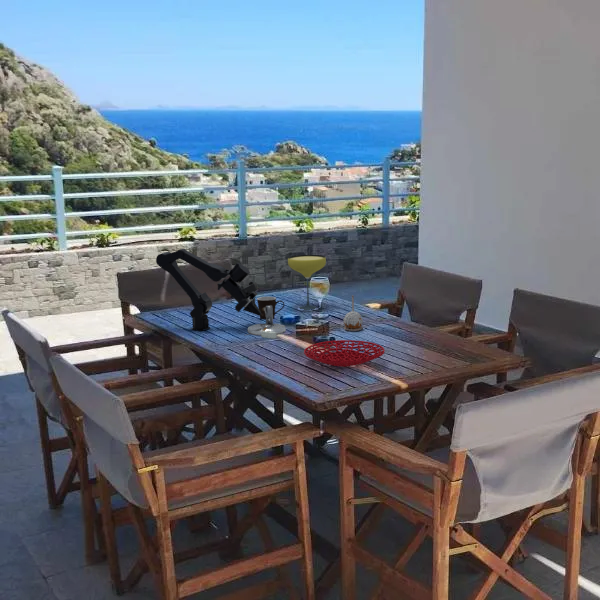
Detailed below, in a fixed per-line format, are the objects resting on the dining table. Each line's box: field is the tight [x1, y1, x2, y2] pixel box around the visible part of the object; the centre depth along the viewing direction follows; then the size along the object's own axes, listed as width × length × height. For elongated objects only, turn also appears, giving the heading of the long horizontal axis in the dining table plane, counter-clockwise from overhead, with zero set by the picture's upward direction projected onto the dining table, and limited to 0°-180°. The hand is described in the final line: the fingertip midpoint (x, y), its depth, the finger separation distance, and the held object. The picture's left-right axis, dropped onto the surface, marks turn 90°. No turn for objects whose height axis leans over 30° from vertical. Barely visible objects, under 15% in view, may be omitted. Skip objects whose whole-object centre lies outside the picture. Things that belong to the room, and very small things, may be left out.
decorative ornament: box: [343, 294, 363, 332], centre depth 348 cm, size 8×8×15 cm
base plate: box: [243, 330, 277, 339], centre depth 346 cm, size 20×20×4 cm
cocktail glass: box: [287, 254, 327, 310], centre depth 391 cm, size 18×18×25 cm
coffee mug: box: [256, 296, 285, 320], centre depth 371 cm, size 12×9×10 cm
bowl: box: [303, 339, 386, 368], centre depth 299 cm, size 29×29×5 cm
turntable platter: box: [247, 306, 287, 337], centre depth 346 cm, size 16×16×10 cm
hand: (260, 314), depth 351 cm, fingers closed
